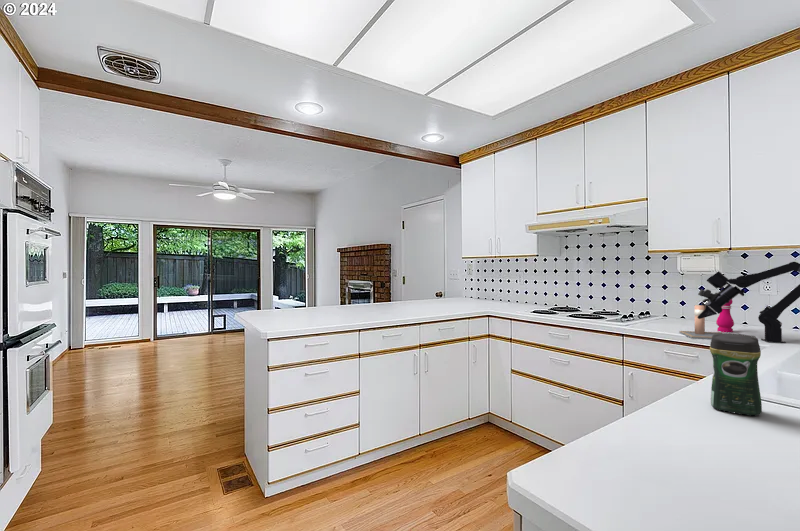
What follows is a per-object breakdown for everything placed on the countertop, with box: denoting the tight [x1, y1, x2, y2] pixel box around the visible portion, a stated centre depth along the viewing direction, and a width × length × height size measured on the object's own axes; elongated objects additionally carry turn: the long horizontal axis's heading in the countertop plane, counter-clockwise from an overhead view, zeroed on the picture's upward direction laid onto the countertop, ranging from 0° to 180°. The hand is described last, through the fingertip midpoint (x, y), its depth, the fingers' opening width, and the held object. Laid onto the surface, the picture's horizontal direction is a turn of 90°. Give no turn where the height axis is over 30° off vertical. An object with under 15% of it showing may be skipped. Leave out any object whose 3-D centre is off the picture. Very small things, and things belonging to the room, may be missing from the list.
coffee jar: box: [709, 332, 763, 416], centre depth 98 cm, size 10×8×19 cm
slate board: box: [678, 330, 722, 340], centre depth 195 cm, size 16×18×1 cm
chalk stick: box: [694, 304, 706, 334], centre depth 199 cm, size 4×4×14 cm
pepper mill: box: [716, 299, 735, 333], centre depth 209 cm, size 7×7×20 cm
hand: (696, 317), depth 199 cm, fingers open, 9 cm apart
